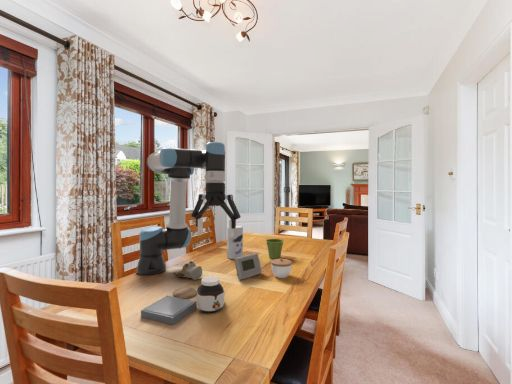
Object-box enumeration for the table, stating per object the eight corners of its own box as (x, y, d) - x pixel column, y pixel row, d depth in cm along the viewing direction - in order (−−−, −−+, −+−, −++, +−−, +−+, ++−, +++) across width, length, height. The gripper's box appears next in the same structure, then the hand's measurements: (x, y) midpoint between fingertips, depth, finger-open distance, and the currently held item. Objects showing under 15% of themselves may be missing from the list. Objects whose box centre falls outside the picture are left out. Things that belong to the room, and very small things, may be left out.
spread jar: (199, 316, 99) (199, 284, 99) (193, 303, 110) (193, 274, 109) (231, 310, 104) (231, 280, 104) (222, 298, 114) (222, 271, 114)
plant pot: (287, 257, 179) (287, 239, 178) (278, 261, 169) (278, 243, 168) (271, 254, 185) (271, 237, 185) (262, 258, 175) (262, 240, 175)
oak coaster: (167, 296, 116) (167, 294, 116) (182, 288, 125) (182, 286, 125) (187, 300, 112) (187, 298, 112) (201, 291, 122) (201, 289, 122)
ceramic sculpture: (192, 265, 131) (171, 262, 139) (192, 283, 131) (172, 279, 139) (208, 260, 139) (188, 257, 148) (208, 277, 139) (188, 273, 148)
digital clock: (238, 281, 135) (238, 259, 134) (230, 276, 142) (230, 255, 142) (265, 275, 143) (265, 255, 143) (256, 270, 151) (256, 251, 151)
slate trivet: (140, 317, 98) (140, 310, 98) (167, 301, 111) (167, 295, 111) (172, 325, 93) (172, 317, 93) (196, 307, 106) (196, 300, 106)
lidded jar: (294, 274, 145) (294, 257, 144) (287, 281, 135) (288, 262, 135) (275, 271, 149) (275, 254, 149) (267, 277, 140) (267, 259, 139)
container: (236, 260, 171) (236, 228, 170) (224, 257, 176) (224, 226, 175) (245, 256, 179) (245, 226, 178) (233, 254, 184) (233, 224, 184)
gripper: (182, 182, 108) (182, 235, 109) (241, 182, 101) (241, 239, 101) (192, 182, 116) (192, 232, 116) (248, 182, 108) (248, 235, 108)
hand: (215, 235), depth 109 cm, fingers open, 13 cm apart
